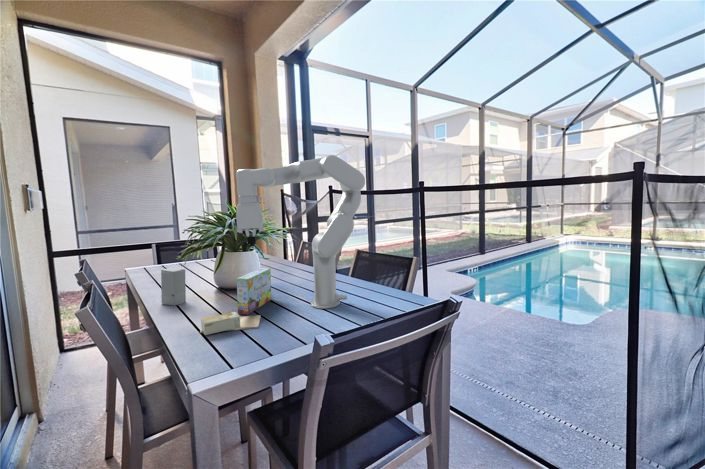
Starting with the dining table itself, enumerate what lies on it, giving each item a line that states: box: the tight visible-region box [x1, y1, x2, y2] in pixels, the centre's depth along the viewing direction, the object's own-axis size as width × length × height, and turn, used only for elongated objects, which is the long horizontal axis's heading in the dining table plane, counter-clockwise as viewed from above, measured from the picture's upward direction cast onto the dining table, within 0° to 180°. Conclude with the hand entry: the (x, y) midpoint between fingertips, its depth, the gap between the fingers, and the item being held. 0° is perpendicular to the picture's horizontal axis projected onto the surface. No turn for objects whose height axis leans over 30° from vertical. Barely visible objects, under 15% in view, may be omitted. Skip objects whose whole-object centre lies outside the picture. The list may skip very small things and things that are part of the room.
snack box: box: [236, 267, 272, 316], centre depth 149 cm, size 21×6×15 cm, turn 168°
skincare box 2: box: [200, 311, 241, 336], centre depth 123 cm, size 6×4×12 cm
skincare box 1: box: [160, 267, 187, 306], centre depth 156 cm, size 8×7×16 cm
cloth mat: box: [199, 314, 262, 334], centre depth 129 cm, size 20×12×1 cm, turn 101°
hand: (252, 246), depth 139 cm, fingers closed
